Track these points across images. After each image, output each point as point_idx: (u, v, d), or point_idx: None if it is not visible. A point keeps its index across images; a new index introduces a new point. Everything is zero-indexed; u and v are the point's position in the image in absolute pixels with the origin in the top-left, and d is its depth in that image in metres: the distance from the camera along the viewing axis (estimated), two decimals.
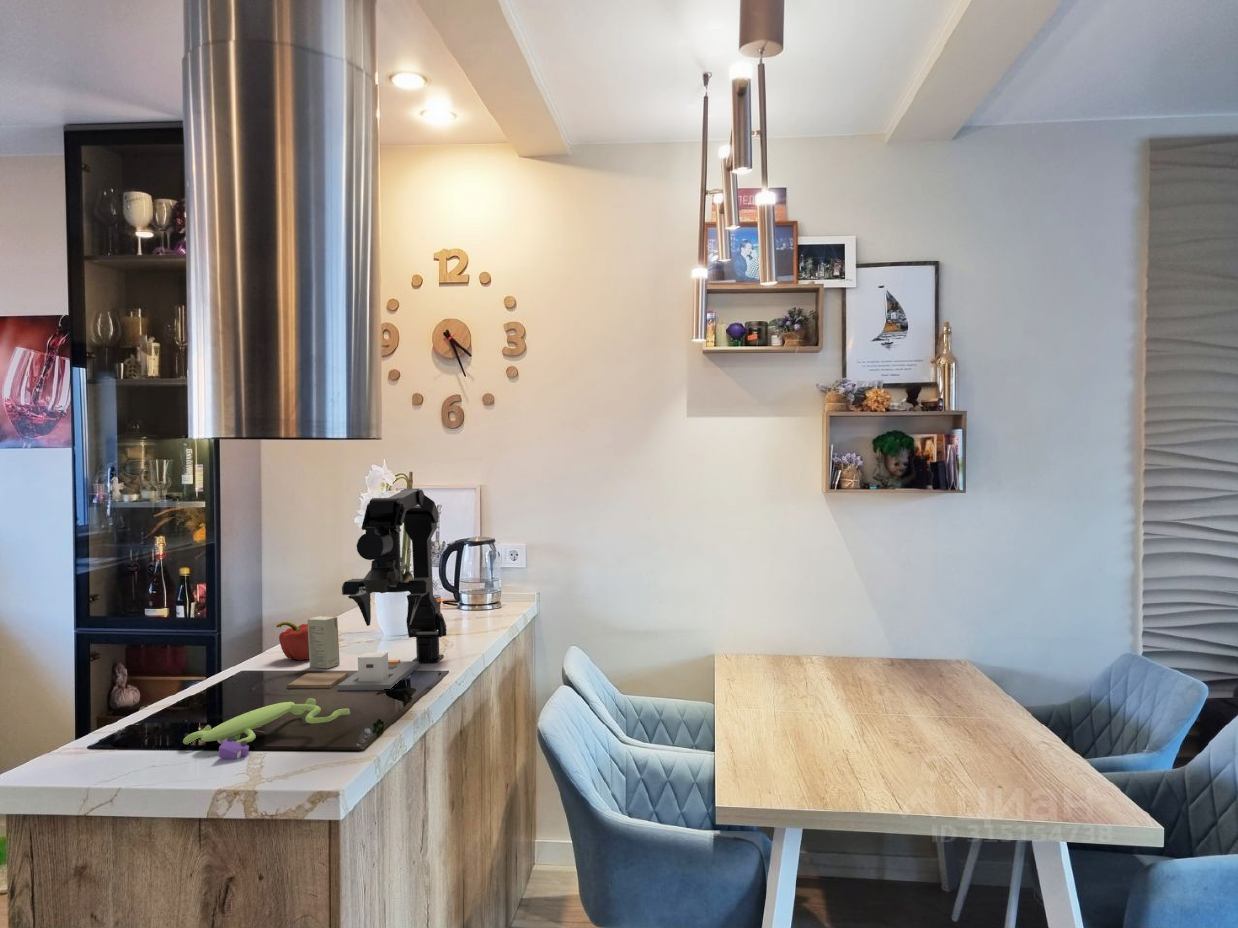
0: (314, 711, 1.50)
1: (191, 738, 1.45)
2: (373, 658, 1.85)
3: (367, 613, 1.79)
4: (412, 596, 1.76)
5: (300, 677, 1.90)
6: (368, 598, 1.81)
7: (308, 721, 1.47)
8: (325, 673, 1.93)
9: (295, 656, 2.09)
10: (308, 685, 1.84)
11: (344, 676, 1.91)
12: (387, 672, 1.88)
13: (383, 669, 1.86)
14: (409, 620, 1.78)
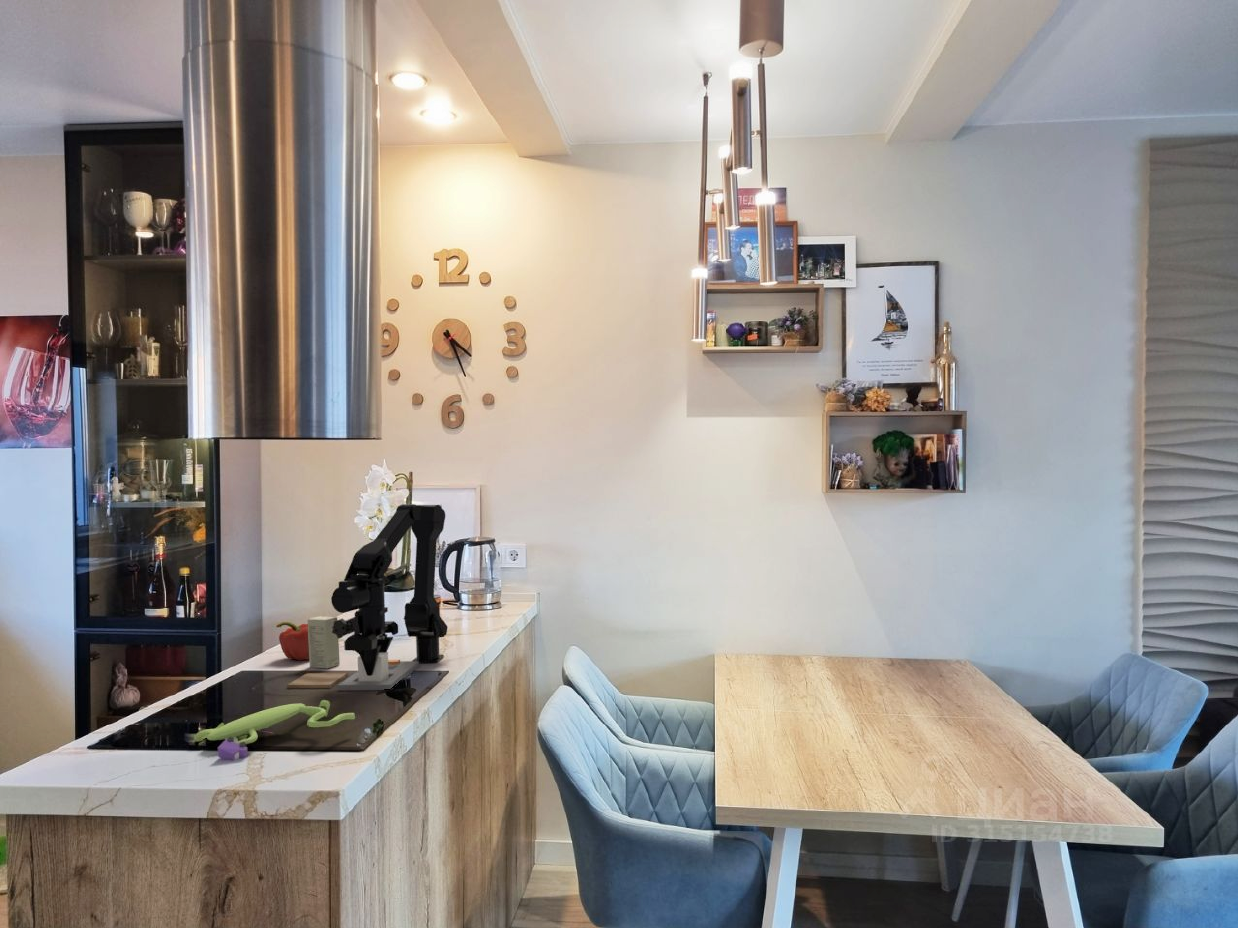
0: (317, 714, 1.48)
1: (199, 736, 1.47)
2: None
3: None
4: None
5: (300, 677, 1.90)
6: (383, 645, 1.89)
7: (309, 725, 1.45)
8: (325, 673, 1.93)
9: (295, 656, 2.09)
10: (308, 685, 1.84)
11: (344, 676, 1.91)
12: (386, 672, 1.88)
13: (383, 669, 1.86)
14: None
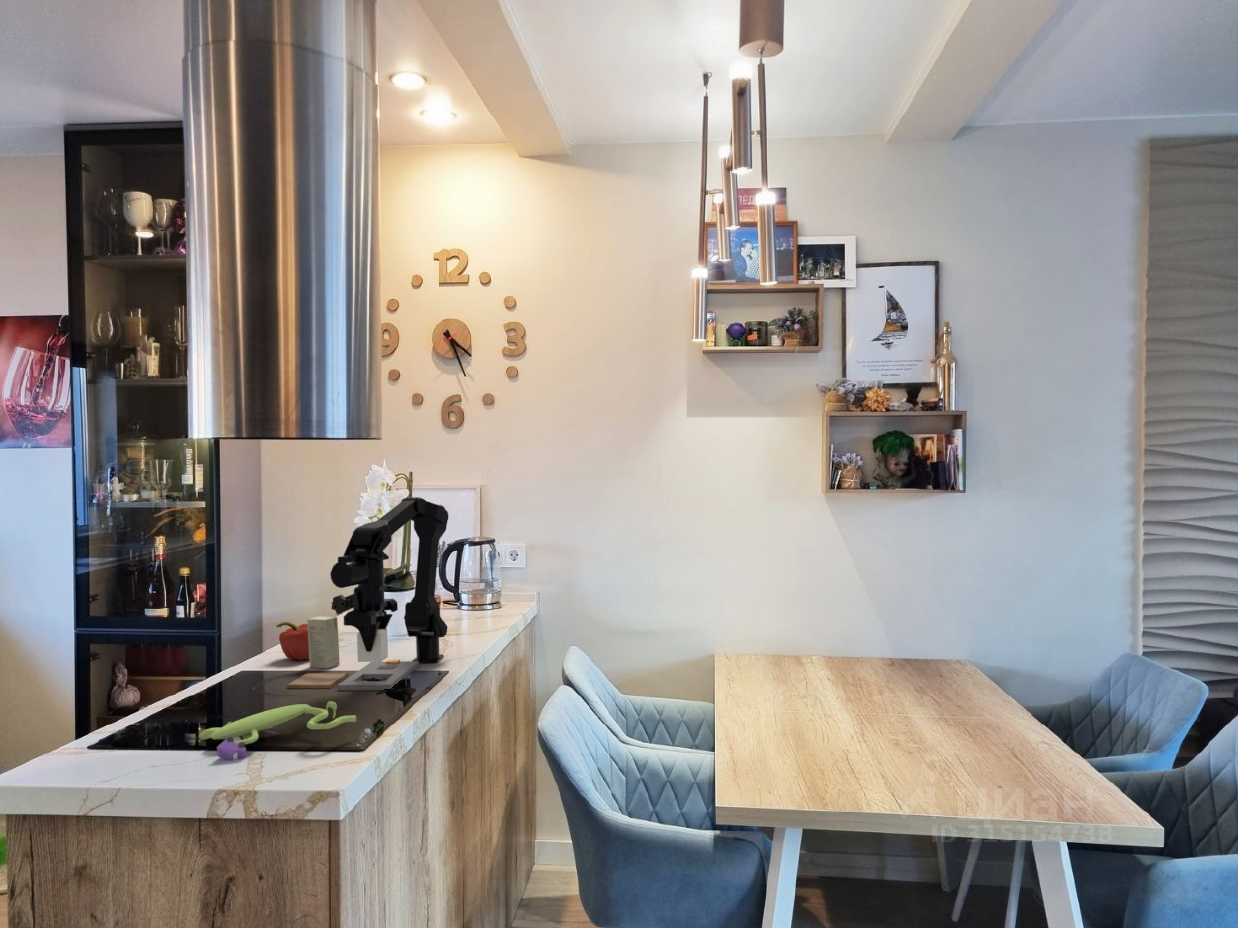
0: (318, 716, 1.47)
1: (204, 734, 1.47)
2: None
3: None
4: None
5: (300, 677, 1.90)
6: (382, 621, 1.89)
7: (308, 727, 1.44)
8: (325, 673, 1.93)
9: (295, 656, 2.09)
10: (308, 685, 1.84)
11: (344, 676, 1.91)
12: (386, 649, 1.88)
13: (382, 645, 1.86)
14: None
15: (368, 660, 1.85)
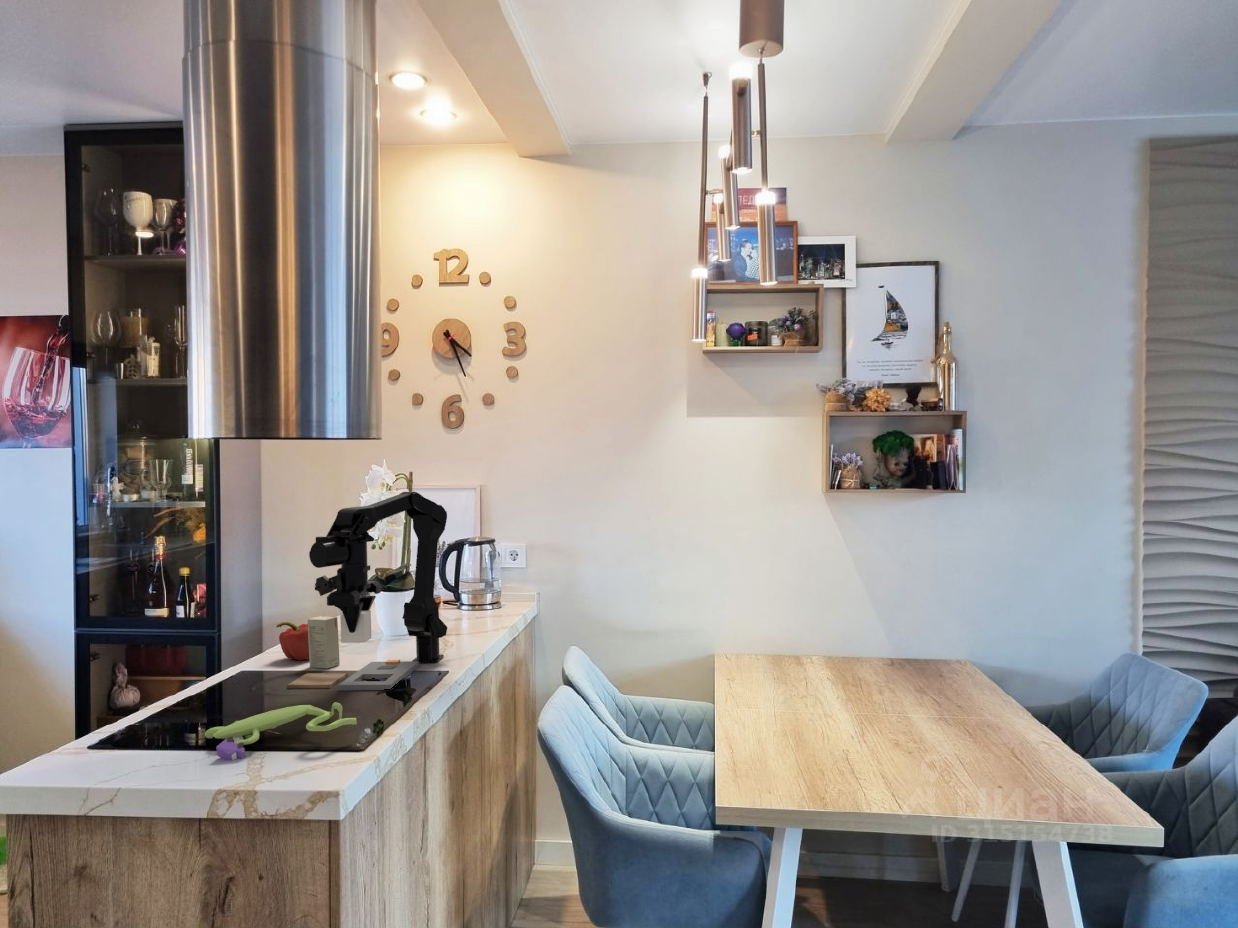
0: (318, 718, 1.46)
1: (209, 733, 1.48)
2: None
3: None
4: None
5: (300, 677, 1.90)
6: (365, 603, 1.90)
7: (307, 728, 1.43)
8: (325, 673, 1.93)
9: (295, 656, 2.09)
10: (308, 685, 1.84)
11: (344, 676, 1.91)
12: (369, 630, 1.88)
13: (366, 626, 1.86)
14: None
15: (351, 641, 1.85)
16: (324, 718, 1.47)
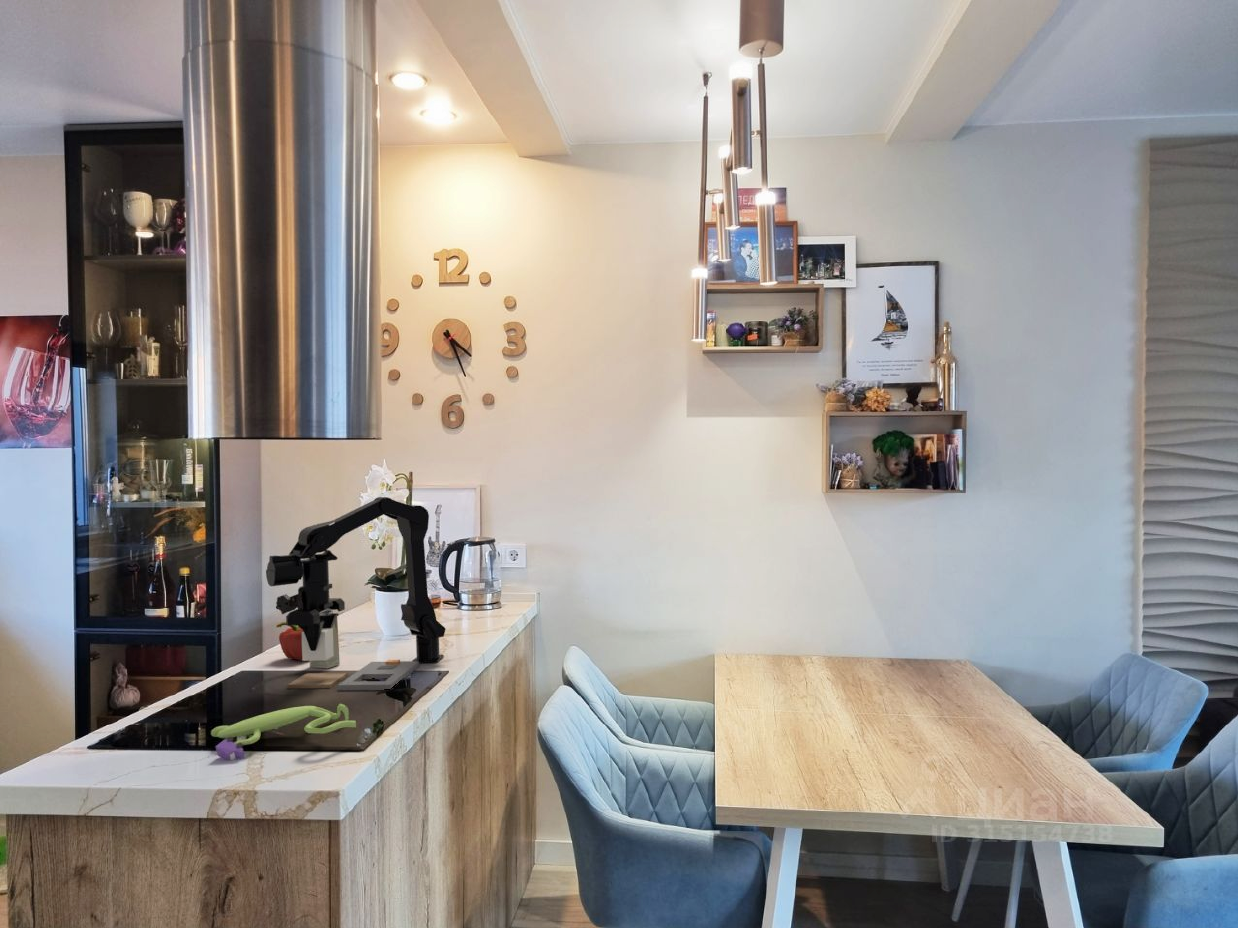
0: (318, 720, 1.45)
1: (214, 732, 1.49)
2: None
3: None
4: None
5: (300, 677, 1.90)
6: (328, 621, 1.91)
7: (305, 730, 1.42)
8: (325, 673, 1.93)
9: (295, 656, 2.09)
10: (308, 685, 1.84)
11: (344, 676, 1.91)
12: (331, 648, 1.90)
13: (327, 644, 1.87)
14: None
15: (313, 659, 1.86)
16: (324, 720, 1.46)
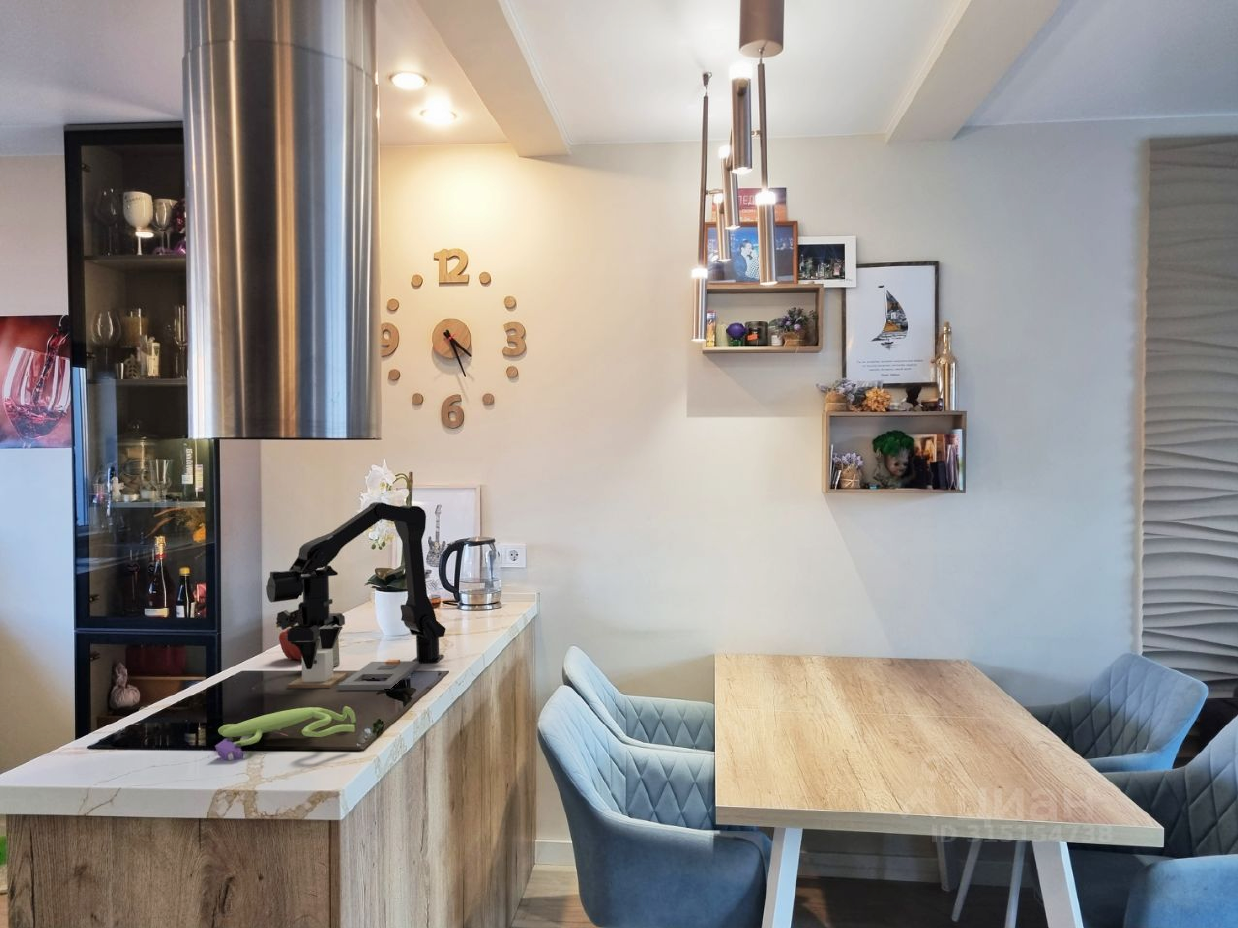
0: (316, 723, 1.43)
1: (221, 730, 1.49)
2: (317, 654, 1.86)
3: (324, 647, 1.93)
4: None
5: (300, 677, 1.90)
6: (332, 634, 1.93)
7: (302, 733, 1.41)
8: None
9: (295, 656, 2.09)
10: (308, 685, 1.84)
11: (344, 676, 1.91)
12: (331, 668, 1.89)
13: (327, 665, 1.87)
14: None
15: (312, 680, 1.86)
16: (323, 723, 1.44)
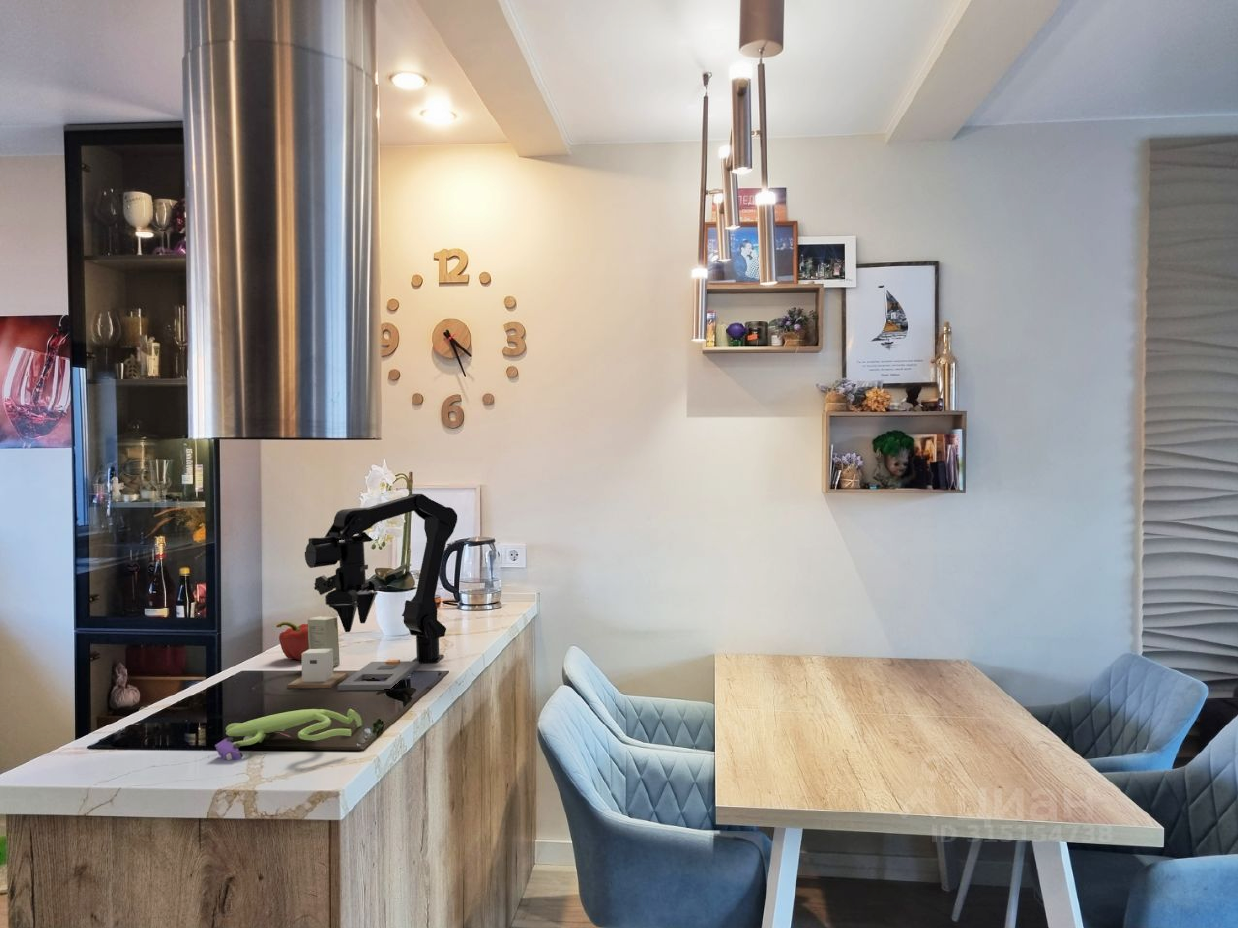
0: (313, 726, 1.42)
1: (227, 729, 1.50)
2: (317, 654, 1.86)
3: (360, 612, 1.98)
4: None
5: (300, 677, 1.90)
6: (367, 599, 1.98)
7: (298, 736, 1.40)
8: None
9: (295, 656, 2.09)
10: (308, 685, 1.84)
11: (344, 676, 1.91)
12: (331, 668, 1.89)
13: (327, 665, 1.87)
14: None
15: (312, 680, 1.86)
16: (320, 726, 1.43)
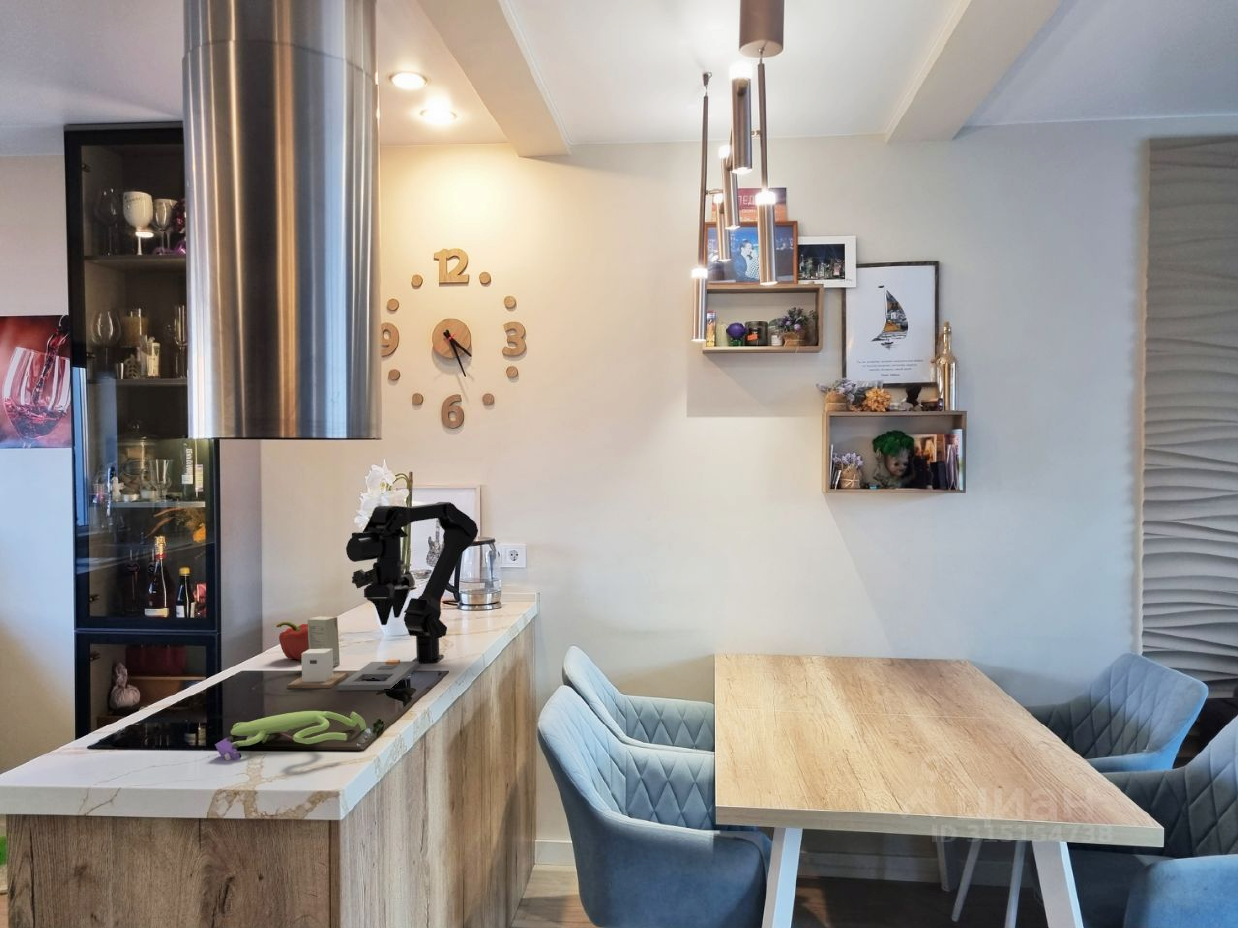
0: (310, 729, 1.40)
1: (234, 728, 1.51)
2: (317, 654, 1.86)
3: (394, 606, 2.02)
4: None
5: (300, 677, 1.90)
6: (402, 594, 2.03)
7: None
8: None
9: (295, 656, 2.09)
10: (308, 685, 1.84)
11: (344, 676, 1.91)
12: (331, 668, 1.89)
13: (327, 665, 1.87)
14: None
15: (312, 680, 1.86)
16: (317, 729, 1.41)
